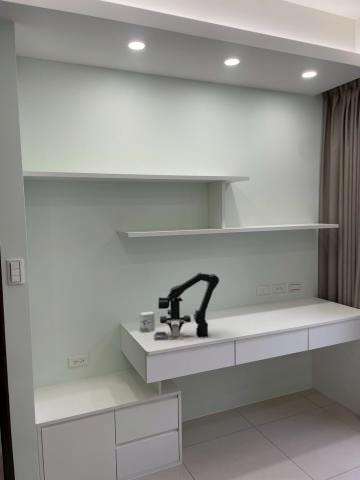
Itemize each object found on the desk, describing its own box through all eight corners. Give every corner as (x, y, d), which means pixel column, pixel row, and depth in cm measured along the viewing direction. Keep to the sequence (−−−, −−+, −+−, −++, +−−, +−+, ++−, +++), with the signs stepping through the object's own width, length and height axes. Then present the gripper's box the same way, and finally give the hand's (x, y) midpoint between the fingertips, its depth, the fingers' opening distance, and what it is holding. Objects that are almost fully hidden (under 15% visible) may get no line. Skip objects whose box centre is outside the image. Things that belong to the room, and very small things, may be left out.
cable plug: (178, 333, 231) (178, 322, 231) (179, 336, 226) (178, 325, 226) (171, 334, 231) (171, 323, 230) (172, 336, 226) (172, 325, 225)
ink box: (142, 332, 237) (142, 314, 236) (140, 330, 241) (139, 312, 240) (155, 330, 241) (154, 312, 240) (152, 328, 245) (151, 311, 244)
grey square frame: (166, 334, 233) (166, 331, 232) (167, 339, 224) (167, 336, 224) (154, 335, 232) (154, 332, 232) (154, 340, 223) (154, 337, 223)
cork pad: (181, 333, 234) (181, 333, 234) (183, 339, 225) (183, 338, 225) (167, 334, 233) (167, 334, 233) (168, 339, 224) (168, 339, 224)
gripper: (188, 304, 236) (188, 327, 237) (159, 305, 234) (159, 329, 236) (190, 308, 225) (190, 333, 226) (160, 310, 223) (160, 335, 224)
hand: (175, 332), depth 228 cm, fingers closed on cable plug, 4 cm apart
